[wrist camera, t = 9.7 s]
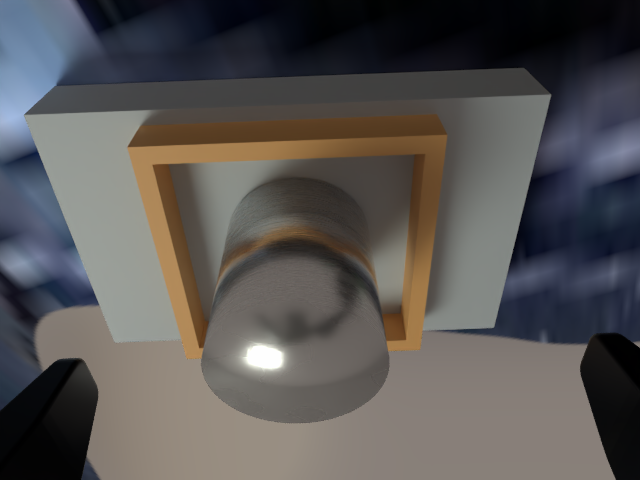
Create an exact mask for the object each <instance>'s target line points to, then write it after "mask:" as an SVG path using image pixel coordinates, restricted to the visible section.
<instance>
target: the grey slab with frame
mask: <svg viewBox="0 0 640 480" xmlns="http://www.w3.org/2000/svg"><path fill="white" fill-rule="evenodd" d="M550 98H551V94H550V93H549V92H548V91H547V90H546V89H545V88H544V87H543V86H542V85H541V84H540V83H539V82H538V81H537V80H536V79H535V78H534V77H533V76H532V75H531V74H530V73H529V72H528V71H527V70H526V69H525V68H505V69H480V70H454V71H428V72H402V73H377V74H351V75H325V76H300V77H274V78H248V79H222V80H197V81H171V82H145V83H119V84H94V85H68V86H55V87H53V88H52V89H51V90H50V91H49V92H48V93H47V94H46V95H45V96H44V97H43V98H42V99H41V100H39V101H38V102H37V103H36V104H35V105H34V106H33V107H32V108H31V109H30V110H29V111H28V112H27V113H25V114H24V117H25V119H26V122H27V124H28V127H29V129H30V132H31V134H32V137H33V139H34V142H35V144H36V147H37V149H38V152H39V154H40V157H41V159H42V162H43V164H44V167H45V169H46V172H47V174H48V177H49V180H50V182H51V185H52V187H53V190H54V192H55V195H56V197H57V200H58V202H59V205H60V207H61V210H62V212H63V215H64V217H65V220H66V222H67V225H68V227H69V230H70V232H71V235H72V237H73V240H74V242H75V245H76V247H77V250H78V252H79V255H80V257H81V260H82V262H83V265H84V267H85V270H86V272H87V275H88V277H89V280H90V282H91V285H92V287H93V290H94V292H95V295H96V297H97V300H98V302H99V305H100V307H101V310H102V313H103V315H104V317H105V320H106V323H107V325H108V327H109V330H110V332H111V335H112V337H113V340H114V342H139V341H164V340H165V341H166V340H182V343H183V347H184V350H185V354H186V358H187V359H199V358H202V352H203V347H204V343H205V338H206V333H207V328H208V323H209V318H210V313H211V309H212V304H213V299H214V294H215V289H216V284H217V279H218V275H219V270H220V265H221V260H222V255H223V250H224V245H225V241H226V236H227V231H228V226H229V222H230V218H231V216H232V214H233V211H234V210H235V208H236V207H237V205H238V204H239V203H240V202H241V200H242V199H243V198H244V197H245V196H247V195H248V194H249V193H250V192H252V191H253V190H255V189H256V188H258V187H260V186H262V185H264V184H266V183H269V182H272V181H276V180H280V179H286V178H309V179H316V180H319V181H323V182H326V183H329V184H331V185H334V186H336V187H337V188H339V189H341V190H343V191H344V192H345V193H347V194H348V195H349V196H350V197H351V198H353V199H354V200H355V201H356V203H357V204H358V205H359V206H360V208H361V210H362V211H363V213H364V215H365V218H366V220H367V224H368V229H369V235H370V241H371V247H372V254H373V260H374V266H375V273H376V279H377V285H378V291H379V298H380V304H381V310H382V316H383V323H384V329H385V335H386V341H387V348H388V351H405V350H420V346H421V339H422V331H424V330H449V329H475V328H494V325H495V321H496V317H497V313H498V309H499V305H500V301H501V297H502V293H503V288H504V284H505V280H506V276H507V272H508V268H509V264H510V260H511V256H512V252H513V248H514V244H515V240H516V236H517V232H518V228H519V224H520V219H521V215H522V211H523V207H524V203H525V199H526V195H527V191H528V187H529V183H530V179H531V175H532V171H533V167H534V163H535V159H536V155H537V151H538V146H539V142H540V138H541V134H542V130H543V126H544V122H545V118H546V114H547V110H548V106H549V102H550Z"/></svg>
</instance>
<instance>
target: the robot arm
mask: <svg viewBox="0 0 640 480" xmlns="http://www.w3.org/2000/svg"><path fill="white" fill-rule="evenodd" d="M580 372H581V377H582V381H583V384H584V387H585V390H586V393H587V397H588V400H589V403H590V406H591V409H592V413H593V416H594V419H595V422H596V426H597V429H598V432H599V435H600V438H601V442H602V445H603V447H604V450H605V454H606V457H607V459H608V462H609V464H610V467H611V469H612V472H613V474H614V476H615V478H616V480H640V348H639V347H638V346H637V345H635V344H634V343H632V342H631V341H630V340H628V339H627V338H626V337H624V336H623V335H621V334H619V333H597V334H594V335H593V336H592V337H591V338H590V340H589V343H588V346H587V348H586V351H585V353H584V356H583V359H582V361H581V365H580ZM97 401H98V388H97V385H96V383H95V381H94V379H93V377H92V375H91V373H90V371H89V369H88V367H87V365H86V363H85V361H84V360H82V359H80V358H68V359H59V360H57V361H55V362H54V363H53V364H52V365H51V366H49V367H48V369H46V370H45V371H44V372H43V373H42V374H41V375H39V376H38V377H37V378H36V379H35V380H34V381H33V382H32V383H31V384H29V385H28V386H27V387H26V388H25V389H24V390H23V391H22V392H21V393H19V394H18V395H17V396H16V397H15V398H14V399H13V400H12V401H11V402H9V403H8V404H7V405H6V406H5V407H4V408H3V409H2V410H1V411H0V480H81V478H82V474H83V470H84V465H85V460H86V455H87V450H88V445H89V441H90V435H91V431H92V426H93V421H94V416H95V411H96V406H97Z"/></svg>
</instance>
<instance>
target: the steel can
mask: <svg viewBox="0 0 640 480" xmlns="http://www.w3.org/2000/svg"><path fill="white" fill-rule="evenodd" d="M201 366H202V372H203V375H204V378H205V381H206V382H207V384H208V386H209V387H210V389H211V390H212V391H213V392H214V394H215V395H217V396H218V397H219V398H220V399H221V400H222V401H223V402H225V403H226V404H228V405H229V406H231V407H232V408H234V409H236V410H238V411H240V412H242V413H245V414H247V415H250V416H253V417H256V418H259V419H264V420H268V421H274V422H282V423H310V422H318V421H324V420H328V419H332V418H335V417H339V416H342V415H344V414H347V413H349V412H351V411H353V410H355V409H357V408H359V407H361V406H362V405H364V404H365V403H366V402H368V401H369V400H370V399H371V398H372V397H374V396H375V395H376V393H377V392H378V391H379V390H380V389H381V387H382V386H383V384H384V382H385V380H386V378H387V375H388V371H389V354H388V348H387V341H386V335H385V329H384V323H383V316H382V310H381V304H380V298H379V291H378V285H377V279H376V273H375V266H374V260H373V254H372V247H371V241H370V235H369V229H368V224H367V220H366V218H365V215H364V213H363V211H362V210H361V208H360V206H359V205H358V204H357V203H356V201H355V200H354V199H353V198H351V197H350V196H349V195H348V194H347V193H345V192H344V191H343V190H341V189H339V188H337V187H336V186H334V185H331V184H329V183H326V182H323V181H319V180H316V179H309V178H286V179H280V180H276V181H272V182H269V183H266V184H264V185H262V186H260V187H258V188H256V189H255V190H253V191H252V192H250V193H249V194H248V195H247V196H245V197H244V198H243V199H242V200H241V202H240V203H239V204H238V205H237V207H236V208H235V210H234V211H233V214H232V216H231V218H230V222H229V226H228V231H227V236H226V241H225V245H224V250H223V255H222V260H221V265H220V270H219V275H218V279H217V284H216V289H215V294H214V299H213V304H212V309H211V313H210V318H209V323H208V328H207V333H206V338H205V343H204V347H203V352H202V360H201Z"/></svg>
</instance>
